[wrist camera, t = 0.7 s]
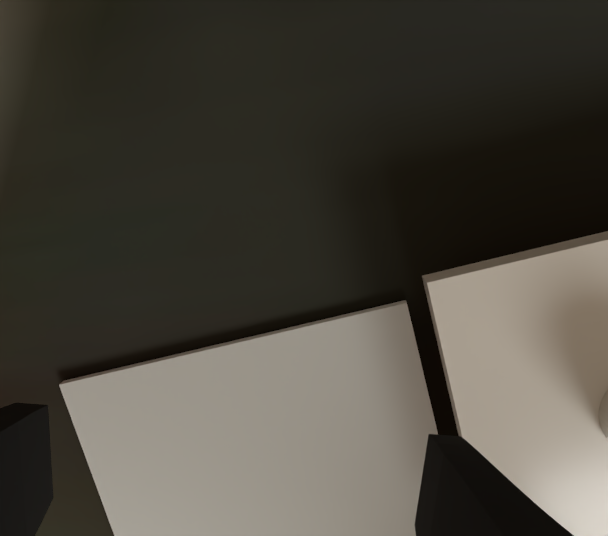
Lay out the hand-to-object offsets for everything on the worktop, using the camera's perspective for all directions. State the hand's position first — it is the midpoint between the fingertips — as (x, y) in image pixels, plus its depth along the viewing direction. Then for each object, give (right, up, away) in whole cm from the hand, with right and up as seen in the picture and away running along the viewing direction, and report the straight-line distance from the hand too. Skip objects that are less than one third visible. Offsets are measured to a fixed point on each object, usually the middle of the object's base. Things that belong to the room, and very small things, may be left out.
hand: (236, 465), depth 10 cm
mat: (0, -6, +12) cm, 13 cm away
